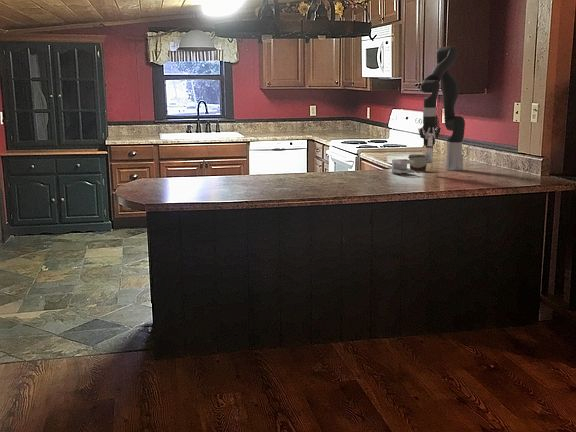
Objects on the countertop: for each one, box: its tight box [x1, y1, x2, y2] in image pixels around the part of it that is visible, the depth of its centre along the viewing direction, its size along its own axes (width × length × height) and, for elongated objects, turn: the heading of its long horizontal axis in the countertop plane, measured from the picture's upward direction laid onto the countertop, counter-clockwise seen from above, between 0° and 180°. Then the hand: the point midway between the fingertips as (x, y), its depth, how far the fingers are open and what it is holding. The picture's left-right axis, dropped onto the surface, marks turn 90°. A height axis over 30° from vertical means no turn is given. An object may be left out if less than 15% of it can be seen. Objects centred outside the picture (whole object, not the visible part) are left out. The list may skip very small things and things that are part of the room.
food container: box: [407, 153, 428, 172], centre depth 400 cm, size 12×6×10 cm, turn 84°
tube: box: [425, 134, 434, 164], centre depth 377 cm, size 4×4×16 cm
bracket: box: [390, 158, 415, 175], centre depth 384 cm, size 9×13×8 cm
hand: (429, 145), depth 376 cm, fingers closed on tube, 4 cm apart
